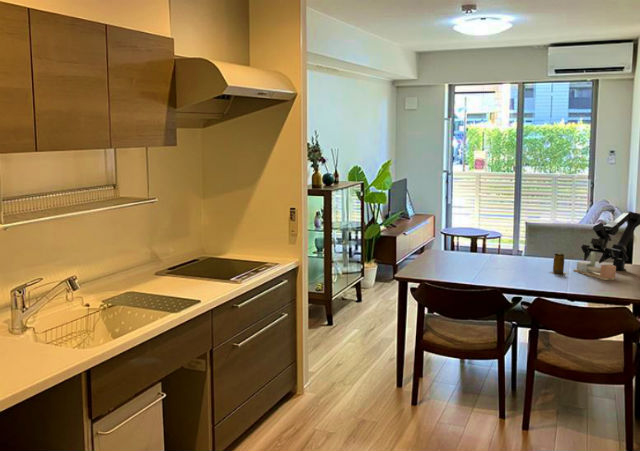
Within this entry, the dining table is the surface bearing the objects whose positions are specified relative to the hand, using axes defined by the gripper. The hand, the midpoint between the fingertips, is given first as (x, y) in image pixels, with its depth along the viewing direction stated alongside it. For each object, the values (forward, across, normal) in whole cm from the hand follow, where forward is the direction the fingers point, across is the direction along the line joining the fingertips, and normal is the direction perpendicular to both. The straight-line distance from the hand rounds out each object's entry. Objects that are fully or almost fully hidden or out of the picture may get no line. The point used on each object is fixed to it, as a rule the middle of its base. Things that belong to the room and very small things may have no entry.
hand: (591, 261), depth 379 cm
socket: (+6, +11, +4) cm, 14 cm away
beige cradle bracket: (+3, -1, +6) cm, 7 cm away
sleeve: (+3, -6, +7) cm, 10 cm away
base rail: (+5, +1, +6) cm, 8 cm away
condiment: (+14, -14, -2) cm, 20 cm away
